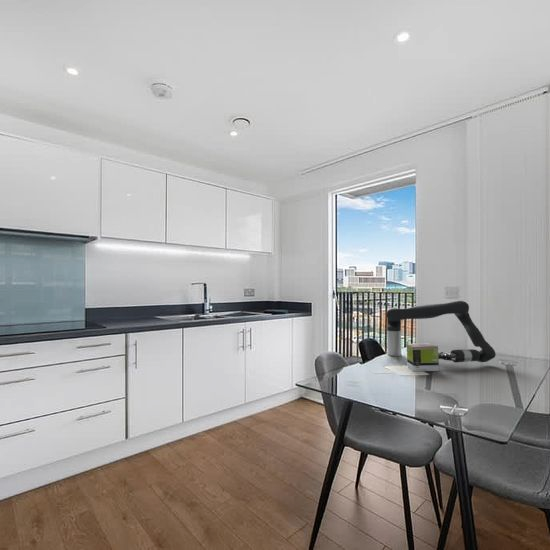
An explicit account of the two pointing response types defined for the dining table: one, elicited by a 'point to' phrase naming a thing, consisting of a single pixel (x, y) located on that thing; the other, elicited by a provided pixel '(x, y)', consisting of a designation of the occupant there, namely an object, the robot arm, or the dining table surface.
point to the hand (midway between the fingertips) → (434, 357)
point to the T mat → (406, 370)
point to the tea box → (422, 357)
